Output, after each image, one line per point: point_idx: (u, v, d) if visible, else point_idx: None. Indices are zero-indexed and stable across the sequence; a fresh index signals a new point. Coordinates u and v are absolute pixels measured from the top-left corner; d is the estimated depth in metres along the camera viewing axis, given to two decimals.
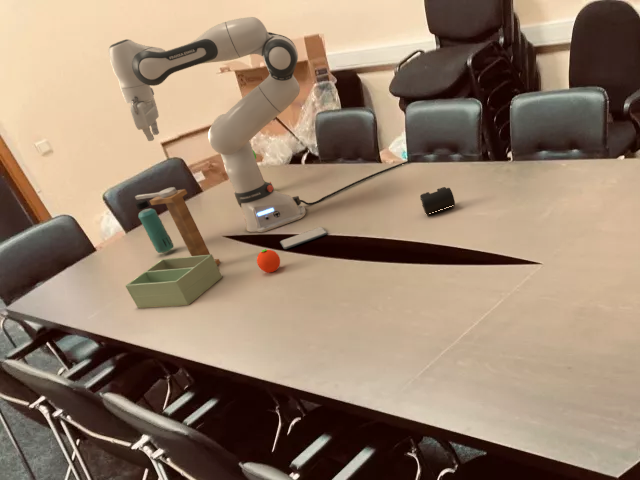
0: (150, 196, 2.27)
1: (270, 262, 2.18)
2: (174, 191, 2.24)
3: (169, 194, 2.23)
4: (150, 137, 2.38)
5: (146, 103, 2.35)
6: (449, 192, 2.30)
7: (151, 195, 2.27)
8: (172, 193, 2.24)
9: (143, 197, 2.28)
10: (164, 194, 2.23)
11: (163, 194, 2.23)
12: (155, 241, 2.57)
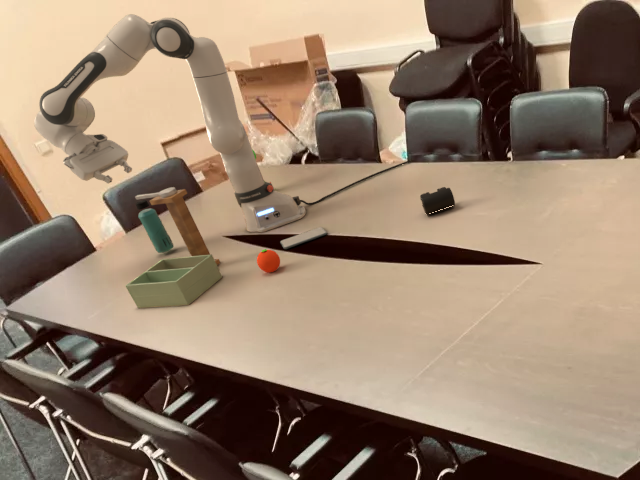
0: (150, 196, 2.27)
1: (270, 262, 2.18)
2: (174, 191, 2.24)
3: (169, 194, 2.23)
4: (106, 179, 2.31)
5: (87, 152, 2.31)
6: (449, 192, 2.30)
7: (151, 195, 2.27)
8: (172, 193, 2.24)
9: (143, 197, 2.28)
10: (164, 194, 2.23)
11: (163, 194, 2.23)
12: (155, 241, 2.57)
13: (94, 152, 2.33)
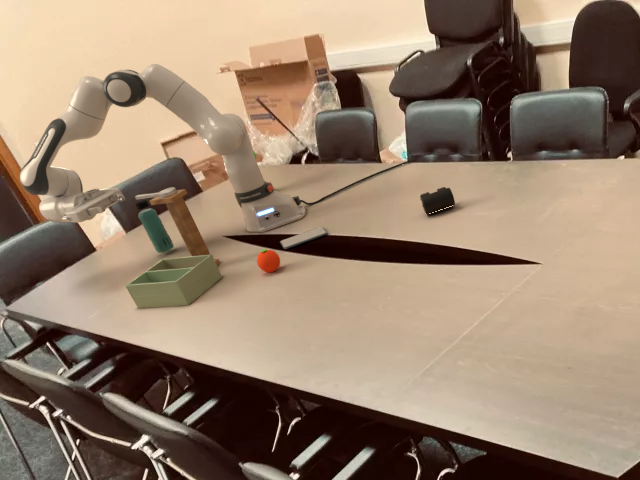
0: (150, 196, 2.27)
1: (270, 262, 2.18)
2: (174, 191, 2.24)
3: (169, 194, 2.23)
4: (98, 209, 2.31)
5: (79, 203, 2.36)
6: (449, 192, 2.30)
7: (151, 195, 2.27)
8: (172, 193, 2.24)
9: (143, 197, 2.28)
10: (164, 194, 2.23)
11: (163, 194, 2.23)
12: (155, 241, 2.57)
13: (87, 201, 2.38)
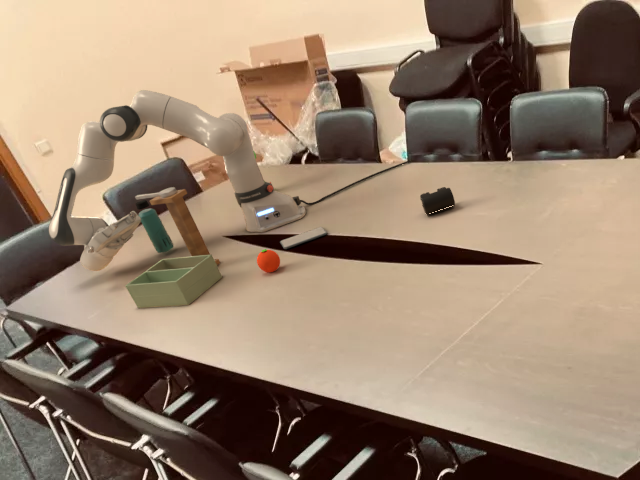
0: (150, 196, 2.27)
1: (270, 262, 2.18)
2: (174, 191, 2.24)
3: (169, 194, 2.23)
4: (111, 227, 2.33)
5: None
6: (449, 192, 2.30)
7: (151, 195, 2.27)
8: (172, 193, 2.24)
9: (143, 197, 2.28)
10: (164, 194, 2.23)
11: (163, 194, 2.23)
12: (155, 241, 2.57)
13: None
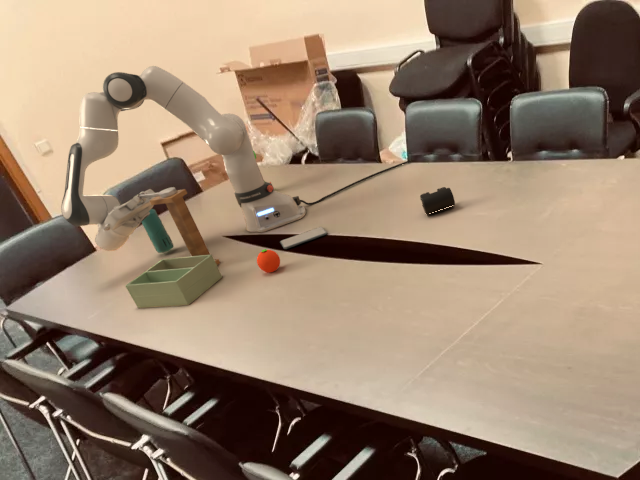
0: (150, 196, 2.27)
1: (270, 262, 2.18)
2: (174, 191, 2.24)
3: (169, 194, 2.23)
4: (135, 199, 2.28)
5: None
6: (449, 192, 2.30)
7: (151, 195, 2.27)
8: (172, 193, 2.24)
9: (143, 197, 2.28)
10: (164, 194, 2.23)
11: (163, 194, 2.23)
12: (155, 241, 2.57)
13: None
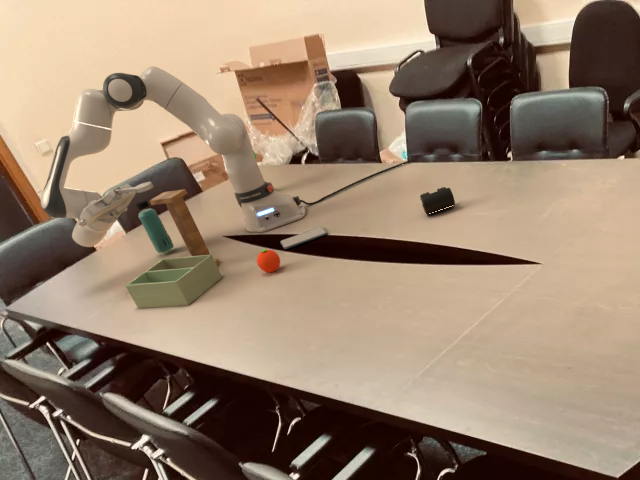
0: (126, 191, 2.23)
1: (270, 262, 2.18)
2: (150, 186, 2.20)
3: (145, 189, 2.19)
4: (111, 194, 2.23)
5: None
6: (449, 192, 2.30)
7: (127, 190, 2.23)
8: (148, 188, 2.19)
9: (119, 192, 2.24)
10: (140, 189, 2.18)
11: (139, 189, 2.18)
12: (155, 241, 2.57)
13: None
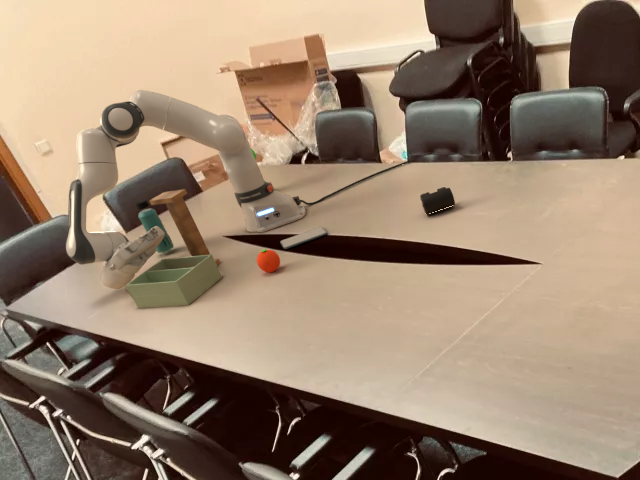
0: None
1: (270, 262, 2.18)
2: None
3: None
4: (137, 241, 2.19)
5: None
6: (449, 192, 2.30)
7: None
8: None
9: None
10: None
11: None
12: None
13: None
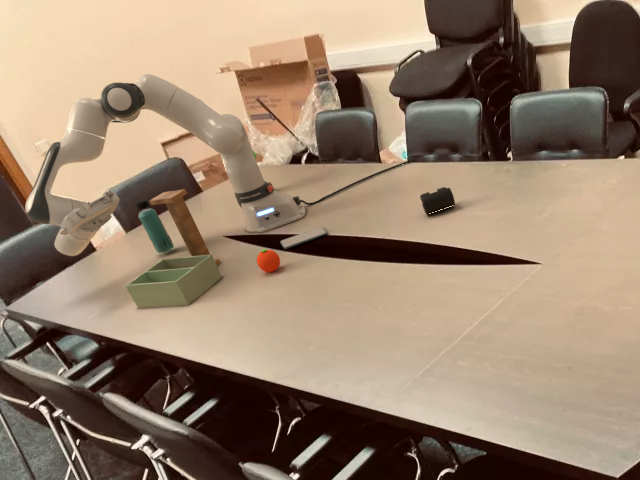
0: None
1: (270, 262, 2.18)
2: None
3: None
4: (85, 206, 2.14)
5: None
6: (449, 192, 2.30)
7: None
8: None
9: None
10: None
11: None
12: (155, 241, 2.57)
13: None
